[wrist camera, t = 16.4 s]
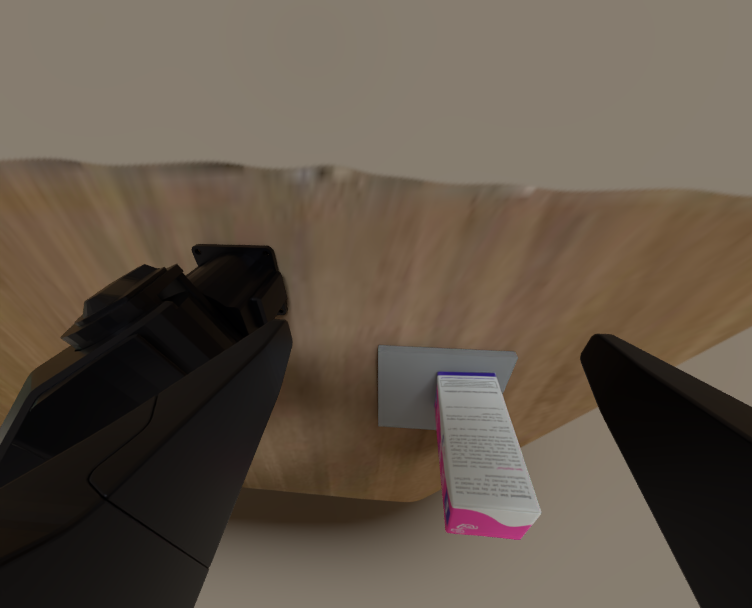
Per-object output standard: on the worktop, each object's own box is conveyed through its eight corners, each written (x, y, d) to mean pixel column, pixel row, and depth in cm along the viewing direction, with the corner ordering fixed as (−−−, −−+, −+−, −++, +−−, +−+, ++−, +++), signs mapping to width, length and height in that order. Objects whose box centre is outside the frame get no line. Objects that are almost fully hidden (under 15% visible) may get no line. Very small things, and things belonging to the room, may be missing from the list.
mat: (378, 420, 34) (378, 426, 33) (378, 345, 26) (378, 351, 26) (484, 426, 33) (485, 433, 32) (514, 351, 26) (517, 357, 25)
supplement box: (434, 370, 27) (452, 507, 17) (496, 371, 26) (549, 513, 17) (431, 405, 30) (445, 536, 21) (486, 406, 29) (525, 542, 20)
